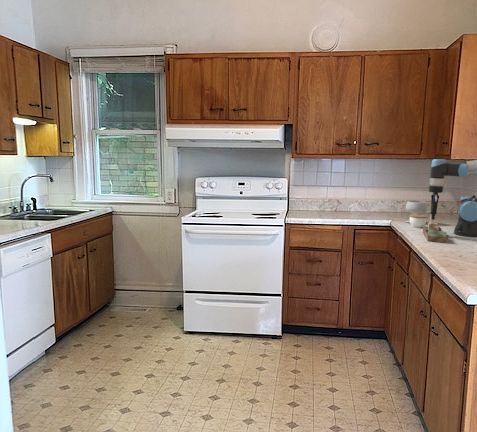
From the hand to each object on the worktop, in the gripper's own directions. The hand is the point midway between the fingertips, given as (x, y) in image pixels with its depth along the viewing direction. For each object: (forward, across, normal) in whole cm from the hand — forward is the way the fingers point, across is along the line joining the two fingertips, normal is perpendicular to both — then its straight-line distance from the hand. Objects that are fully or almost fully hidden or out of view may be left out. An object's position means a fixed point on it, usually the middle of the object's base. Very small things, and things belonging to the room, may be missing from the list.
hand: (432, 224), depth 253 cm
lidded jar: (+7, -26, -6) cm, 27 cm away
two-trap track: (+6, +8, +1) cm, 10 cm away
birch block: (+3, +3, 0) cm, 4 cm away
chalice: (+7, -44, -7) cm, 45 cm away
